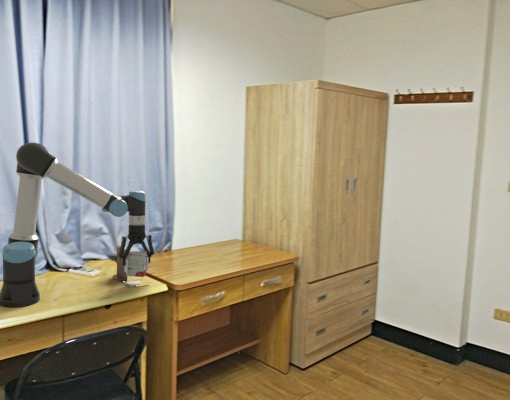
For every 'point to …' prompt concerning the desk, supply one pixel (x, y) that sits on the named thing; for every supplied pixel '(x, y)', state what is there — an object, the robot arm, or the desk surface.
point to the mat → (132, 283)
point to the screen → (120, 268)
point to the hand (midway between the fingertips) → (136, 270)
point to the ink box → (137, 263)
